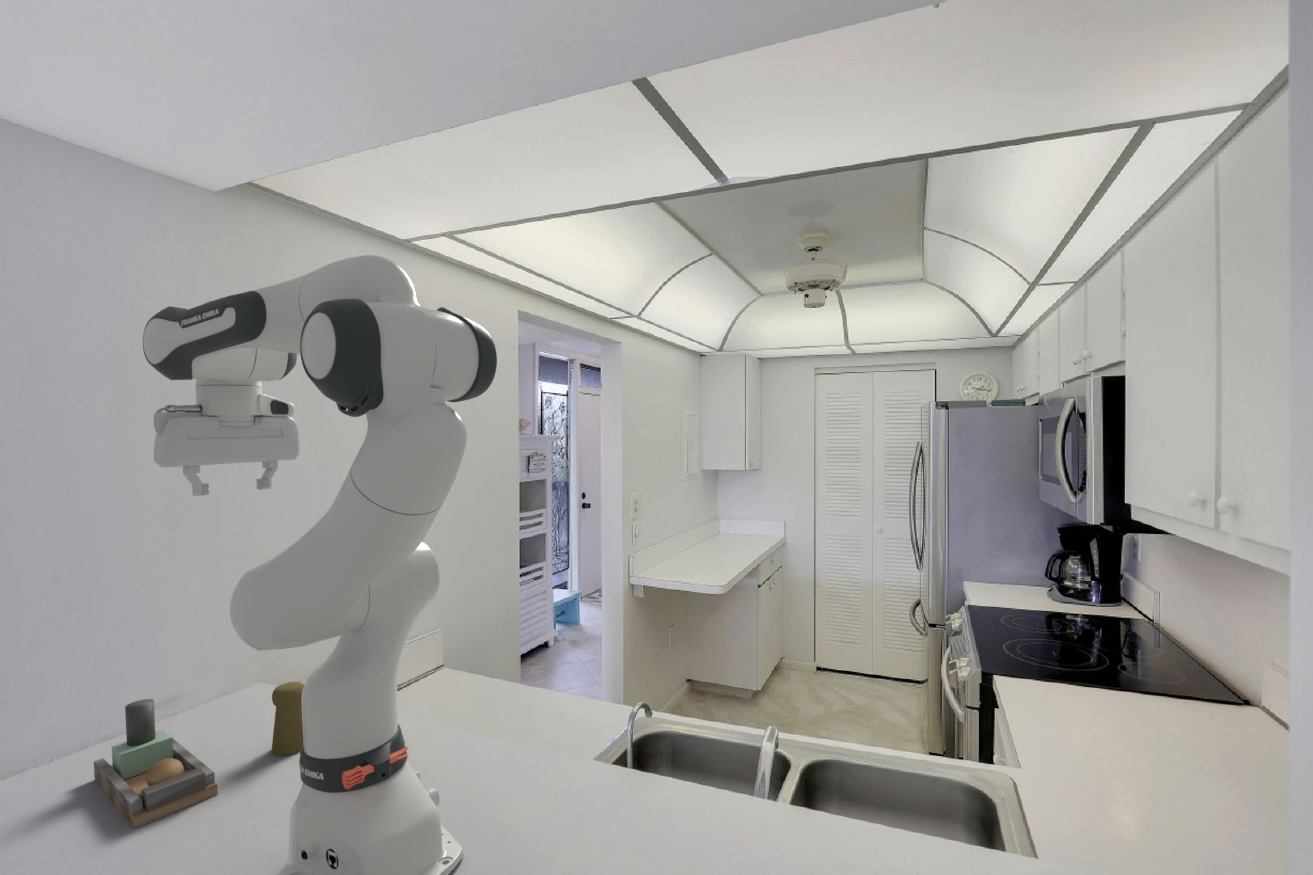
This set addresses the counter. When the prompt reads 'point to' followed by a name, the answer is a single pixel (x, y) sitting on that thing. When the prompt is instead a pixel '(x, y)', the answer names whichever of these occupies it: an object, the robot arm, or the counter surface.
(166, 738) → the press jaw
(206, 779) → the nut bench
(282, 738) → the cork
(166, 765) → the walnut
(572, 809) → the counter surface
